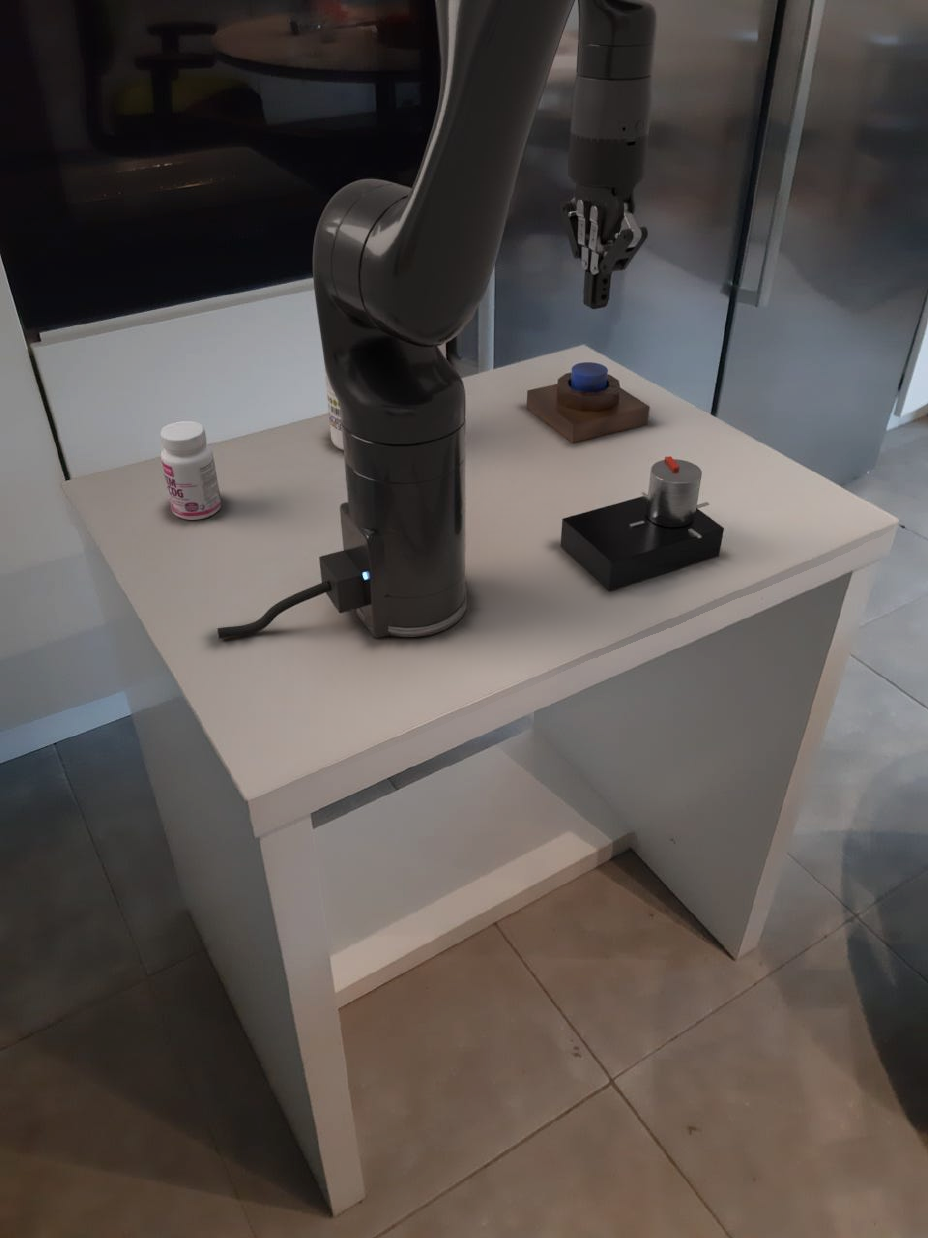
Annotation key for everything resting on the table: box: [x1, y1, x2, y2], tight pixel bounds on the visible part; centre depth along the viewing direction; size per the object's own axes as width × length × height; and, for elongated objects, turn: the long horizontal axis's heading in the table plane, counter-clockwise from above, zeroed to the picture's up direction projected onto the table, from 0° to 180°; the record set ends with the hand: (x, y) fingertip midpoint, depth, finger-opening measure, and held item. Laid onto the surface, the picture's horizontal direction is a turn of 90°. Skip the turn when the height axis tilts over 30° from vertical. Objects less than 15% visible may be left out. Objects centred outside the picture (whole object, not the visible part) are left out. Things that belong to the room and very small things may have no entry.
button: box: [570, 361, 609, 392], centre depth 109 cm, size 4×4×2 cm
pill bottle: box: [159, 420, 222, 521], centre depth 93 cm, size 5×5×8 cm
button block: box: [526, 371, 651, 444], centre depth 111 cm, size 10×10×4 cm
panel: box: [560, 491, 725, 592], centre depth 89 cm, size 13×9×3 cm, turn 117°
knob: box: [646, 455, 703, 527], centre depth 87 cm, size 4×4×5 cm
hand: (595, 305), depth 104 cm, fingers closed
